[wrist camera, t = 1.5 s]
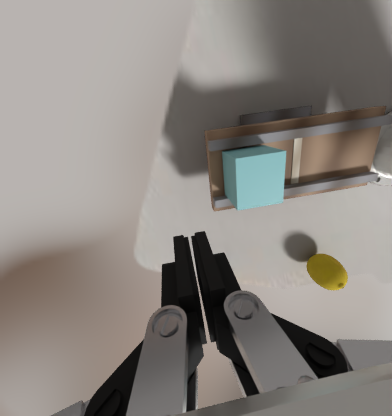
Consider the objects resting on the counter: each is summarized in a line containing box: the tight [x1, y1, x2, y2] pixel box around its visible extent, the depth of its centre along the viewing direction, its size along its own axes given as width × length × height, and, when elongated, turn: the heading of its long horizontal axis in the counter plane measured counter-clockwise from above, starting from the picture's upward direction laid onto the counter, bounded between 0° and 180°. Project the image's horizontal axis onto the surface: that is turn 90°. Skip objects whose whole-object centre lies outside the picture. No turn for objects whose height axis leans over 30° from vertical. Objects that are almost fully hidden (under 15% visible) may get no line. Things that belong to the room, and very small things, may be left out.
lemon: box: [307, 254, 348, 290], centre depth 37 cm, size 6×6×8 cm
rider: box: [222, 145, 286, 210], centre depth 22 cm, size 5×5×5 cm
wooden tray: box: [205, 106, 392, 211], centre depth 28 cm, size 22×12×7 cm, turn 97°
